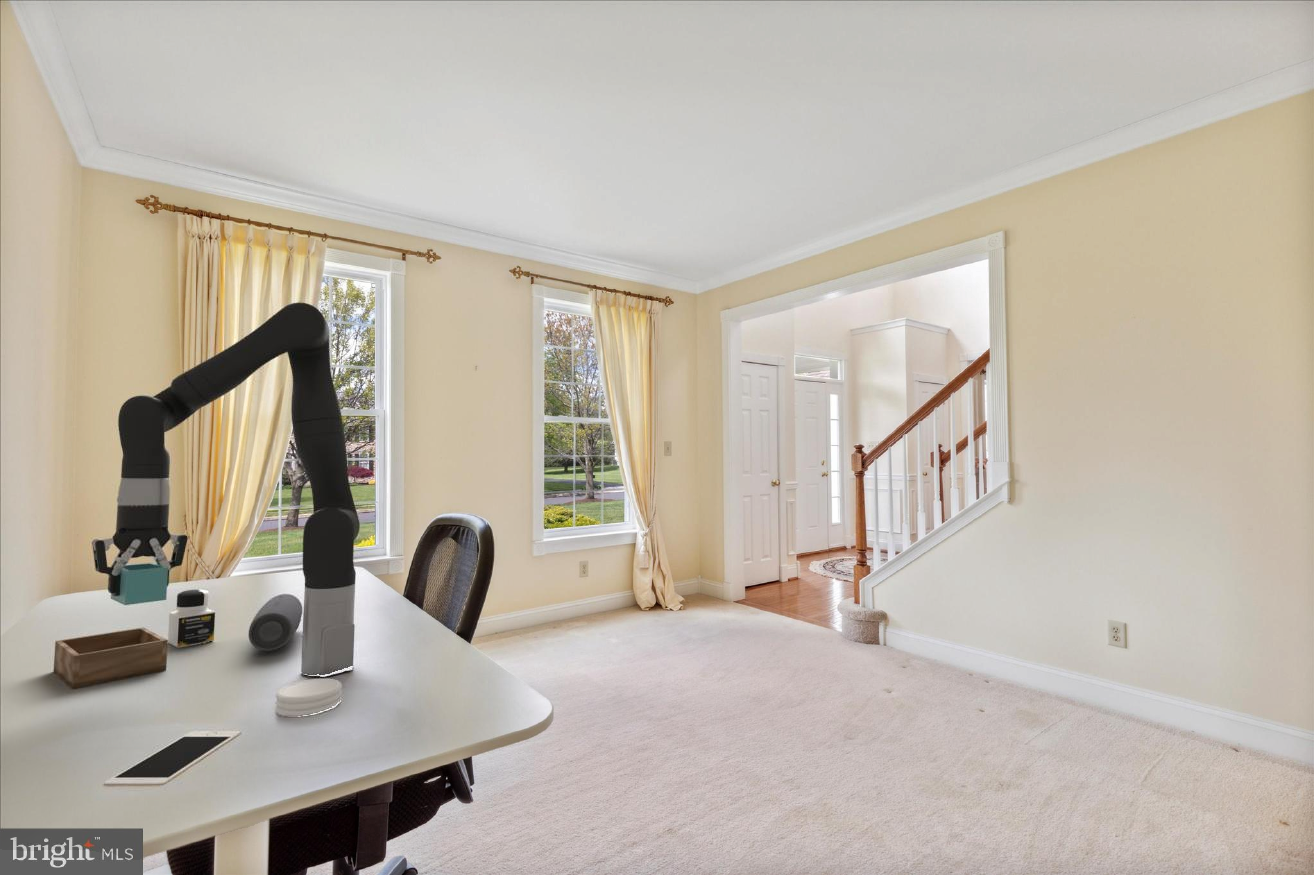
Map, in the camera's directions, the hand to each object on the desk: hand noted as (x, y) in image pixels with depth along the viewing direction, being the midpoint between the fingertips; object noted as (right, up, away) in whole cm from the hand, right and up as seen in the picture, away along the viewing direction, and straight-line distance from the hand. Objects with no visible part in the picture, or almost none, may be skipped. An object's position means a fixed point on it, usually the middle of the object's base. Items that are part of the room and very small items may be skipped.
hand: (138, 592), depth 115 cm
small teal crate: (0, -1, 0) cm, 1 cm away
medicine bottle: (-13, -19, +30) cm, 38 cm away
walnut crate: (-13, -18, +9) cm, 24 cm away
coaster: (+36, -18, -8) cm, 41 cm away
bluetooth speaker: (+7, -20, +30) cm, 36 cm away
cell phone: (+29, -17, -27) cm, 43 cm away
